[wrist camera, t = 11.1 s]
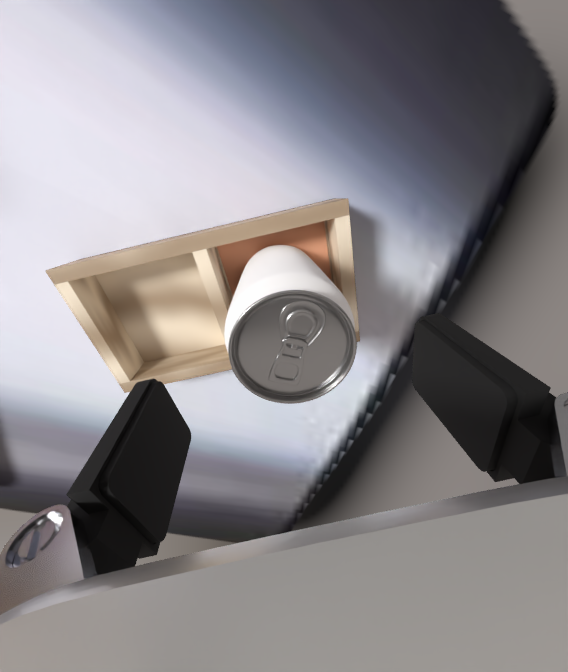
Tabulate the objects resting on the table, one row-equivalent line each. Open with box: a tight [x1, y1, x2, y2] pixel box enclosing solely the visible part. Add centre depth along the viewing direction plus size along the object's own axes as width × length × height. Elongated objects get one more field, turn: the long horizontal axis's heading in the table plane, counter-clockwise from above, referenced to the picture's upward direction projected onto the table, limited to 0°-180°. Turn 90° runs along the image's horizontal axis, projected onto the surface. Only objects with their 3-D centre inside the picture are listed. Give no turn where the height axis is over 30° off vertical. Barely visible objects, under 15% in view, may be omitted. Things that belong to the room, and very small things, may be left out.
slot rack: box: [46, 199, 360, 393], centre depth 22 cm, size 11×21×4 cm, turn 102°
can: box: [224, 245, 357, 404], centre depth 17 cm, size 6×6×12 cm
